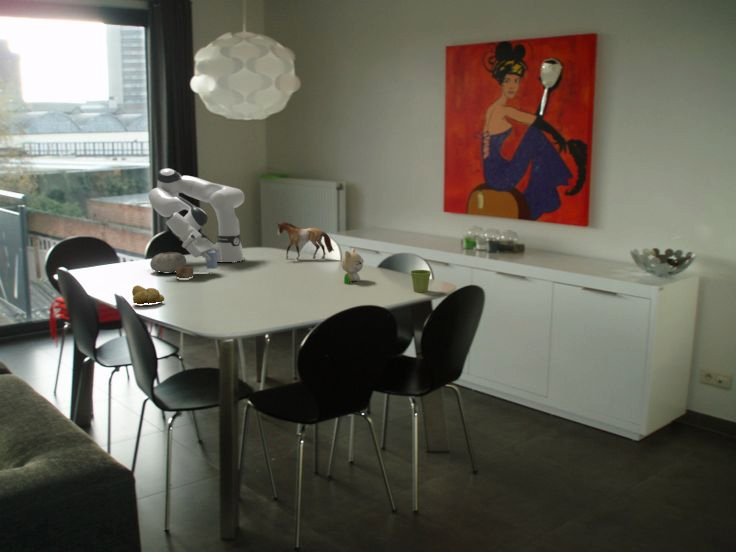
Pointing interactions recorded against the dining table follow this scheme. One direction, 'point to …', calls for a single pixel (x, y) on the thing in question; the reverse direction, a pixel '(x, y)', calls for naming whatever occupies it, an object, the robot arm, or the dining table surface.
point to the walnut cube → (184, 271)
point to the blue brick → (213, 262)
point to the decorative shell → (167, 261)
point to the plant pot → (420, 280)
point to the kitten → (352, 266)
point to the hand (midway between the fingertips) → (213, 259)
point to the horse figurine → (305, 237)
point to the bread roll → (146, 295)
